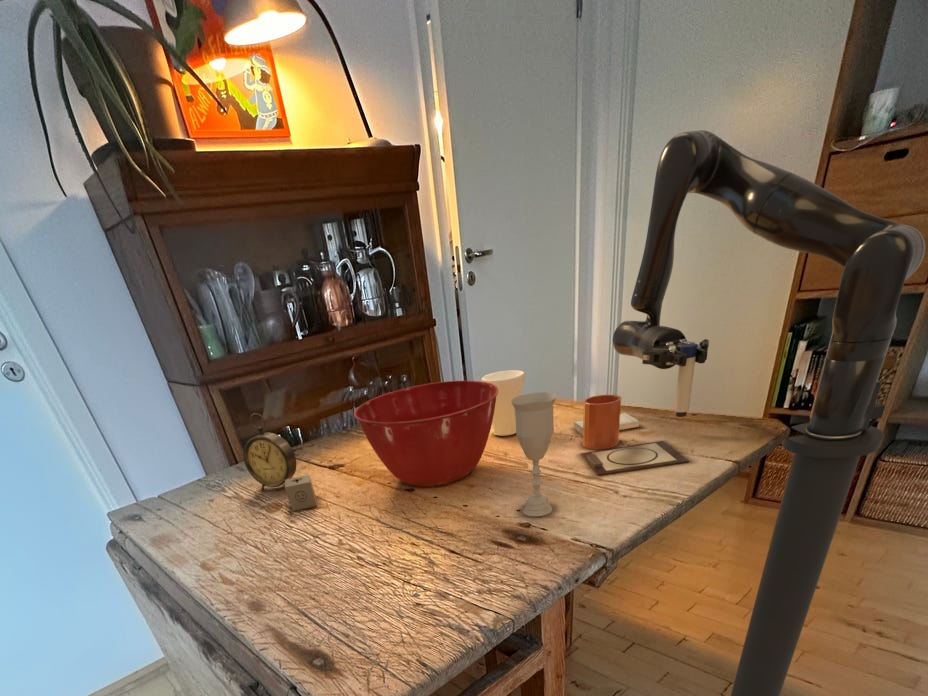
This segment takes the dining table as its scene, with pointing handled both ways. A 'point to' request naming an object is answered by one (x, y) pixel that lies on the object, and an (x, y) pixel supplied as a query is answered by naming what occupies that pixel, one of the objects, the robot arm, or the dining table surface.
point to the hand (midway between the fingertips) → (694, 358)
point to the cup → (505, 399)
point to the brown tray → (633, 458)
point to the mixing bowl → (430, 430)
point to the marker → (685, 380)
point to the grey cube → (300, 492)
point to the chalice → (535, 440)
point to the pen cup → (601, 421)
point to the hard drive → (625, 423)
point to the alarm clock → (269, 458)
